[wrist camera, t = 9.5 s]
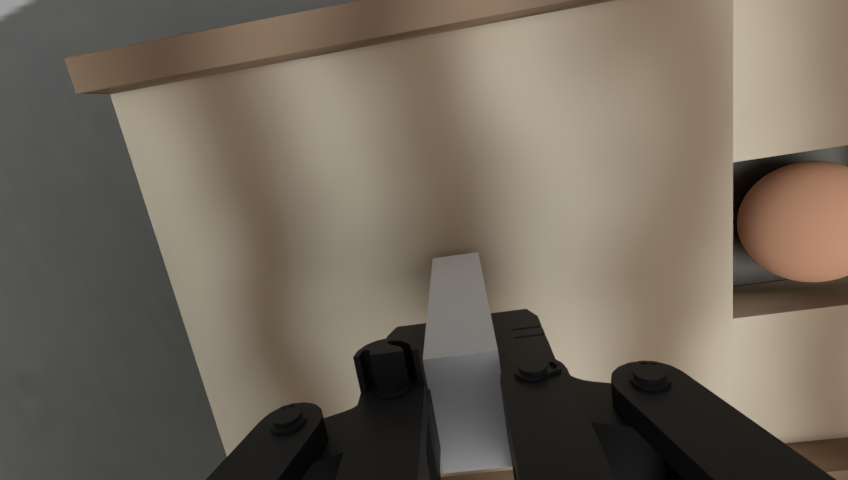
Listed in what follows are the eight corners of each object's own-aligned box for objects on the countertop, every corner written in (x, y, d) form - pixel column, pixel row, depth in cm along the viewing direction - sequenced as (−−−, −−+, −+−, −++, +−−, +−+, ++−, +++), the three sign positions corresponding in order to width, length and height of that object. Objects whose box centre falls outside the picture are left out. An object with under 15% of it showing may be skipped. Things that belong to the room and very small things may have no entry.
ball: (790, 310, 15) (924, 289, 15) (793, 182, 14) (937, 157, 14) (713, 269, 19) (819, 251, 19) (711, 166, 18) (823, 146, 18)
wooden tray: (267, 472, 23) (218, 571, 18) (146, 67, 18) (35, 54, 13) (1007, 396, 20) (1186, 492, 15) (1095, -114, 15) (1397, -214, 10)
